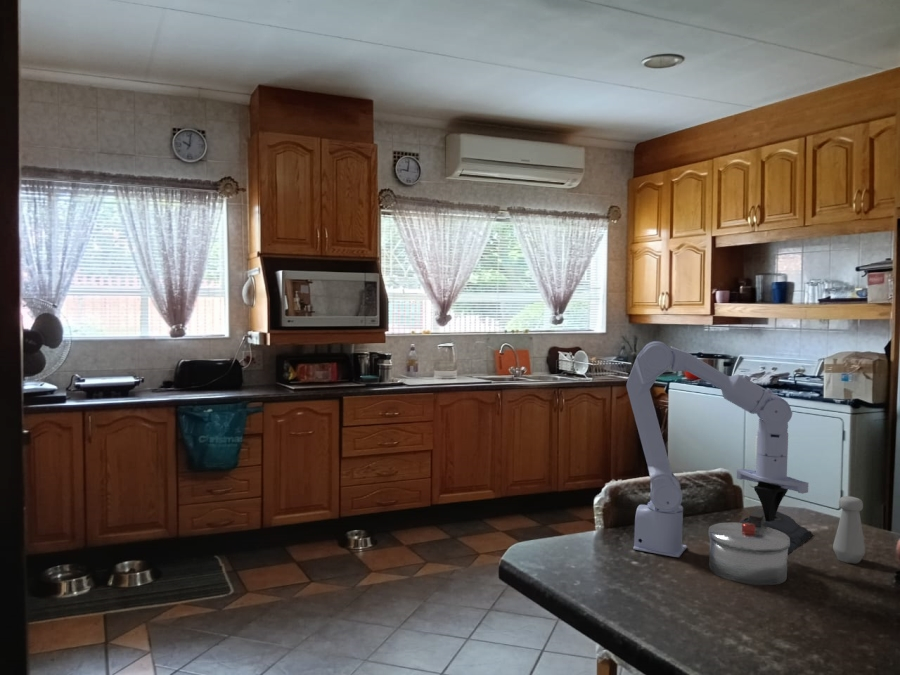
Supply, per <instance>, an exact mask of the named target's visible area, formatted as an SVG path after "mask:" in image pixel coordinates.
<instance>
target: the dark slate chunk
mask: <svg viewBox="0 0 900 675" xmlns="http://www.w3.org/2000/svg"><path fill="white" fill-rule="evenodd" d="M739 523H749V517H745V518H743V519H742V520H741V521H740V522H739ZM762 526H765V527H769V528H772V529H775V530H778V531H780V532H783V533H785V534H786V535H787V536H789V538H790V547H789V548H788V555H790V554H792V553H793V552H794V551H795V550H797V549H798V548H799V547H801V546H802V545H803V544H804V543H805V542H807V541H808V540H809V539H810V538H811V537H812V536H813V532H812V531H811V530H808V529H807V528H806V527H803V526H801V525H800V524H799V523H797V522H796V520H795V519H793V518H792V517H791V516H788V515H786V514H784V513H782V512H780V511H777V512H776V516H775V520H774V521H770V522H768V521H766V522H765V523H764V524H763V525H762Z"/></svg>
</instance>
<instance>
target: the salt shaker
mask: <svg viewBox="0 0 900 675" xmlns="http://www.w3.org/2000/svg"><path fill="white" fill-rule="evenodd" d="M838 506H839V508H840V509H841V514H840V518H839V522H838V525H837V530H836V532H835V536H834V539H833V540H834V541H833V544H832V549H833V551H834V553H835V555H836V557H837V560H838V561H841V562H843V563H845V564H846V563H847V564H859V563H860V562H861V561H862V559H863V557H864V555H865V553H866V547H865V546H866V545H865V540H864V533H863V526H862V520H861V515H860V514H861V513H860V511H862V510H863V508H864V502H863V501H862V499H861V498H858V497H854V496H851V495H850V496H848V495H847V496H846V495H845V496H841V497H840V498H839V500H838Z"/></svg>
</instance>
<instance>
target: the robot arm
mask: <svg viewBox="0 0 900 675" xmlns="http://www.w3.org/2000/svg"><path fill="white" fill-rule="evenodd" d="M670 367H671V371H673V372H688V373H690V374H691V375H693V376H695V377H697V378H699V379H701V380H703V381H704V382H707V383H709V384H711V385H713V386H715V387H716V388H718V389H719V390H721V393H722V396H723V397H722V398H723V399H725V400H726V401H728V402H730V403H732V404H734V405H735V406H737V407H739V408H741V409H742V410H744V411H746V412H748V413H750V414H751V415H757V417H758V430H757V435H756V436H757V438H756V440H757V441H756V466H755V467H756V468H755V470H753V469H747V468H739V469H737V470H736V479H737V480H746V481H751V482H754V483H757V484H756V485H754V491H755V493H756V495H757V497H758V499H759V502H760V504H761V507H762V508H761V509H763V511H764V516H765V520H766V521H768V522H770V521H774V520H775V516H776V512H778V509H779V506H780V504H781V502H782V500H783V499H784V497H785V496H786V494H787V493H788V491H789V490H790V491H794V492H797V493H798V494H806V493H809V482H806V481H802V480H799V479H796V478H793V477H790V476H788V455H789V454H788V452H789V451H788V450H789V433H788V432H789V431H788V429H789V422H790V421H791V419H792V416H793V411H792V409H791V406H790V404H789V403H788V401H786V399H785V398H782V397H781V396H779V395H778V394H777V393H773V390H772V389H770V388H764V387H763V386H761V385H759V384H757V383H755V382H753V381H751V379H752V378H751V377H750V376H748V375H746V374H744V375H743V376H742V375H740V374H734V375H727V374H725V373H724V372H722V371H721V370H718V369H716V368H715V367H713V366H711V365H710V364H708V363H706V362H705V361H703V360H701V359H700V358H698V357H697V356H694V355H692V354H691V353H690V352H688V351H685V350H682V349H679V348H676V347H674V346H670V347H669V346H668V345H667V344H666V343H665V342H663V341H659V340H654V341H649V342H648V343H647V344H645V345H644V346H643V348H642V349H641V350H640V351H639V352H638V354H637V356H636V358H635V360H634V363H633V366H632V368H631V371H630V374H629V375H628V378H627V382H626V390H627V394H628V398H629V402H630V405H631V409H632V413H633V415H634V421H635V424H636V427H637V428H636V429H637V430H638V435H639V439H640V442H641V446H642V450H643V454H644V457H645V461H646V464H647V470H648V474H649V477H650V478H649V479H650V483H649V484H650V485H649V487H650V493H649V494H650V495H649V496H650V501H648V502H647V504H639V505H638V506H637V508H636V511H635V518H634V539H633V540H634V543H633V545H634V546H633V550H636V551H640V552H647V553H653V554H655V555H656V554H657V555H661V556H669V557H673V558H680V557H681V556H682V554H683V553H684V552H685V550H686V549H687V548H688V547H687V544H683V523H684V522H683V520H684V519H683V518H684V514H683V513H684V506H683V505H681V504H682V502H683V493H682V490H681V482H680V480H679V479H678V477H677V476H676V475H675V474H674V472H673V470H672V466H671V463H670V460H669V457H668V453H667V448H666V446H665V441H664V439H663V434H662V431H661V428H660V424H659V419H658V416H657V412H656V408H655V405H654V400H653V397H652V394H651V388H652V387H653V385H654V383H655V382H656V381H657V378H658V377H660V375H663V374H664V373H665V372H666V371H668V369H670Z"/></svg>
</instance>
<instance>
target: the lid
mask: <svg viewBox="0 0 900 675" xmlns="http://www.w3.org/2000/svg"><path fill="white" fill-rule="evenodd" d="M748 518H749V523H740V522H718V523H714V524H712V525H710V526H709V527H708V537H709V539H710V538H711V539H712V540H713V541H715V542H717V543H719V544H721V545H724V546H727V547H731V548H735V549H739V550H745V551H753V552H779V551H784V550H786V549H788V548H789V547H790V538H789V536H787V535H786V534H785V533H783V532H780V531H778V530H775V529H772V528H769V527H765V526H762V525H763V524H764V523H765V522H766V520H765V516H764V511H763V508H755V510H753V511H752V513H750V514H749V517H748Z"/></svg>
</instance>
